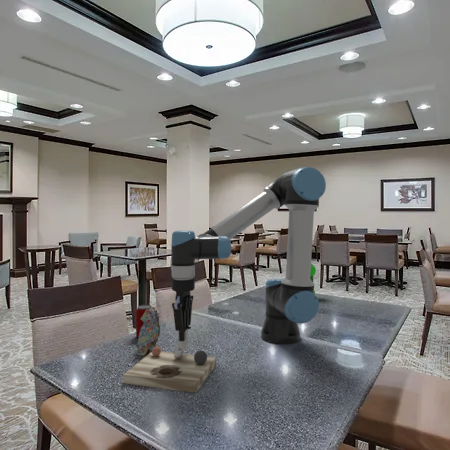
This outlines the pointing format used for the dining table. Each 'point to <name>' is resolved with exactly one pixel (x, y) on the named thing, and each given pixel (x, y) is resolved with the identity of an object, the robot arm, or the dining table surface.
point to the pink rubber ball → (156, 351)
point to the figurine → (148, 332)
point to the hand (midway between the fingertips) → (183, 349)
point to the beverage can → (139, 314)
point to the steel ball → (178, 353)
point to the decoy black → (200, 357)
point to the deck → (170, 372)
